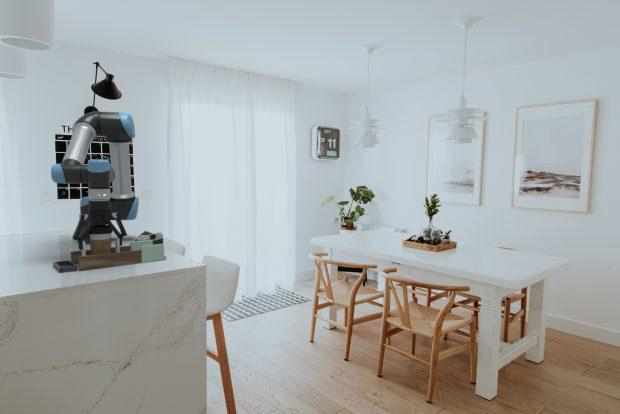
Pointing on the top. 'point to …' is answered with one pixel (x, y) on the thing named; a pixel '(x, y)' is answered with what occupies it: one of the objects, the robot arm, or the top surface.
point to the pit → (65, 266)
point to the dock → (149, 250)
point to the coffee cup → (100, 239)
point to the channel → (106, 258)
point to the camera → (151, 237)
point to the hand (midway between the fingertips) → (101, 256)
